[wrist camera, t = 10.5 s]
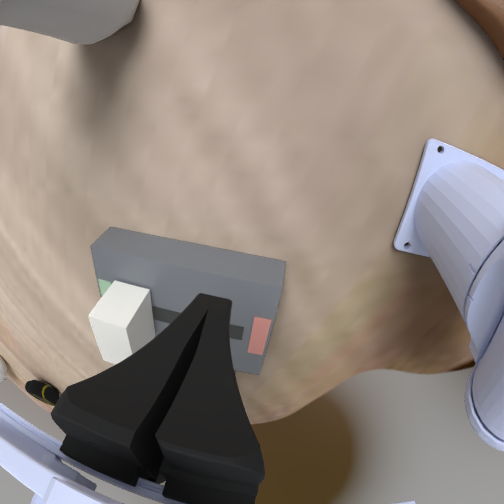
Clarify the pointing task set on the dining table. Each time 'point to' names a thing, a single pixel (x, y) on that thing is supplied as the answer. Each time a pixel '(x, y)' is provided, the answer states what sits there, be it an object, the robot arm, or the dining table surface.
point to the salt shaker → (69, 17)
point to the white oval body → (2, 370)
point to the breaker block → (196, 284)
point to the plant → (488, 18)
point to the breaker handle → (122, 321)
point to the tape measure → (42, 392)
